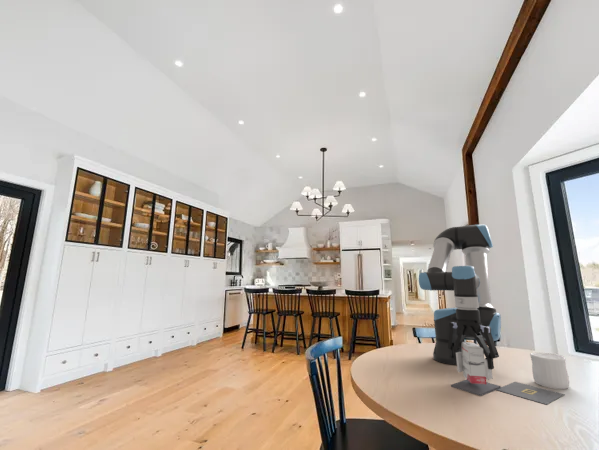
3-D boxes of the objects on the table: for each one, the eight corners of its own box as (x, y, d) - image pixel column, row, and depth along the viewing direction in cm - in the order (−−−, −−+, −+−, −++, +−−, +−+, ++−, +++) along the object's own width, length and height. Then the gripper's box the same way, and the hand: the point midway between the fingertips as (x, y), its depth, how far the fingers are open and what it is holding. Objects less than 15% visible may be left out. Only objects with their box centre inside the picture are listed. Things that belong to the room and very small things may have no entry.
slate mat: (495, 390, 99) (495, 389, 99) (515, 382, 106) (515, 381, 106) (546, 404, 87) (546, 403, 87) (564, 394, 94) (564, 393, 94)
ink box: (488, 385, 97) (483, 347, 99) (471, 384, 98) (467, 346, 100) (478, 376, 105) (474, 341, 107) (462, 375, 106) (459, 341, 108)
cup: (528, 382, 105) (524, 353, 107) (544, 378, 109) (540, 351, 111) (559, 391, 97) (554, 360, 99) (576, 386, 101) (571, 357, 103)
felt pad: (451, 386, 102) (450, 384, 102) (471, 379, 109) (471, 377, 109) (480, 396, 94) (480, 394, 94) (500, 387, 100) (500, 386, 100)
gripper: (433, 306, 113) (439, 368, 109) (494, 312, 95) (503, 386, 91) (445, 305, 117) (450, 365, 113) (505, 310, 99) (515, 382, 95)
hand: (474, 374), depth 102 cm, fingers closed on ink box, 9 cm apart
